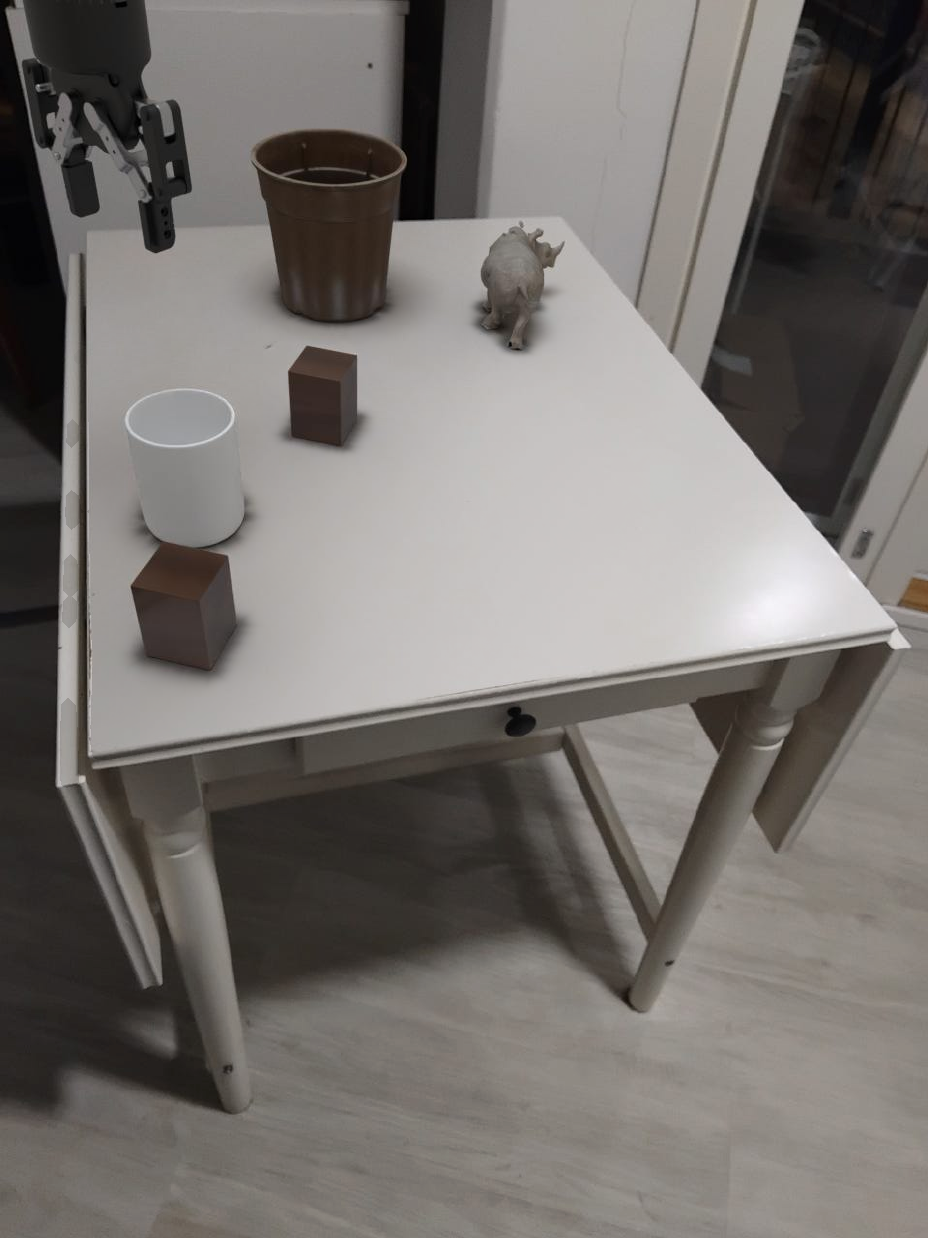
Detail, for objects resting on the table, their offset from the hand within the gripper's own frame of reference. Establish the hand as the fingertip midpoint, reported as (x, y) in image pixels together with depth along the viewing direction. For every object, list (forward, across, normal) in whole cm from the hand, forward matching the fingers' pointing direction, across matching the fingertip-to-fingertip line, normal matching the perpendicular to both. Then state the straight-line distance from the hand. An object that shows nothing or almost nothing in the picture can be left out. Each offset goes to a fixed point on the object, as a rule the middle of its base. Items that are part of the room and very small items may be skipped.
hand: (122, 231), depth 72 cm
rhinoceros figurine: (+20, +7, +47) cm, 52 cm away
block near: (+21, +19, -13) cm, 31 cm away
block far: (+21, +7, +14) cm, 26 cm away
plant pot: (+21, -10, +34) cm, 41 cm away
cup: (+21, +7, -3) cm, 22 cm away
